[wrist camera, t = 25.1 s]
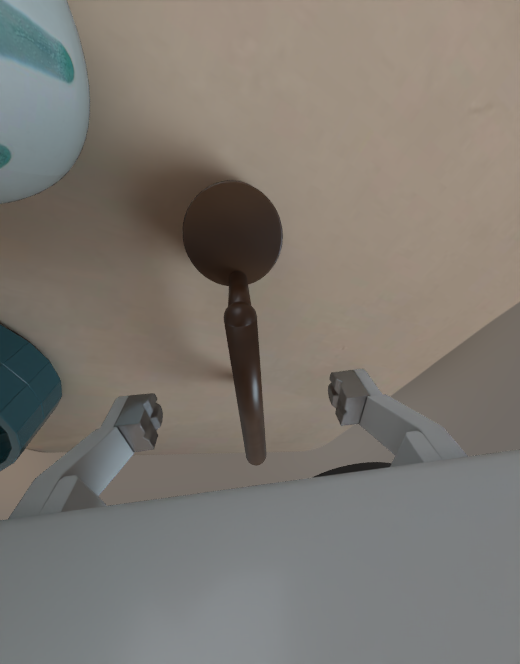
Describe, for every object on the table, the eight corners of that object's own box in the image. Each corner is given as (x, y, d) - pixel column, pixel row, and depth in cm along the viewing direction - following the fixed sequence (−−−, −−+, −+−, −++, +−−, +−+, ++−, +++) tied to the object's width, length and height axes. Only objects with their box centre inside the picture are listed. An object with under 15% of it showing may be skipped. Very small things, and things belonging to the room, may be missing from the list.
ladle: (180, 183, 15) (129, 191, 7) (274, 177, 15) (314, 179, 8) (222, 388, 25) (219, 474, 18) (277, 382, 26) (295, 464, 18)
